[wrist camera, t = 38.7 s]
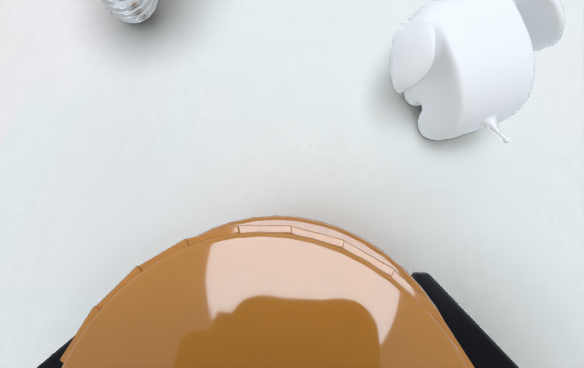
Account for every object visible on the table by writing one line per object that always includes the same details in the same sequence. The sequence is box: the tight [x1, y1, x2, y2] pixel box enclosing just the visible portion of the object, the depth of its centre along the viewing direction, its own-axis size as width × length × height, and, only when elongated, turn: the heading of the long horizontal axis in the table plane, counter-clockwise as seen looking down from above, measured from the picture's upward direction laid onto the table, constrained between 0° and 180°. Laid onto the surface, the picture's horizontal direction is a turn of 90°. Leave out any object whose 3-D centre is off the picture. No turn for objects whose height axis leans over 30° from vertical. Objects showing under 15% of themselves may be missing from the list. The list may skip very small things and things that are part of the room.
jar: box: [60, 216, 474, 368], centre depth 9 cm, size 7×7×12 cm
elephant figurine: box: [390, 0, 565, 143], centre depth 14 cm, size 7×8×6 cm
